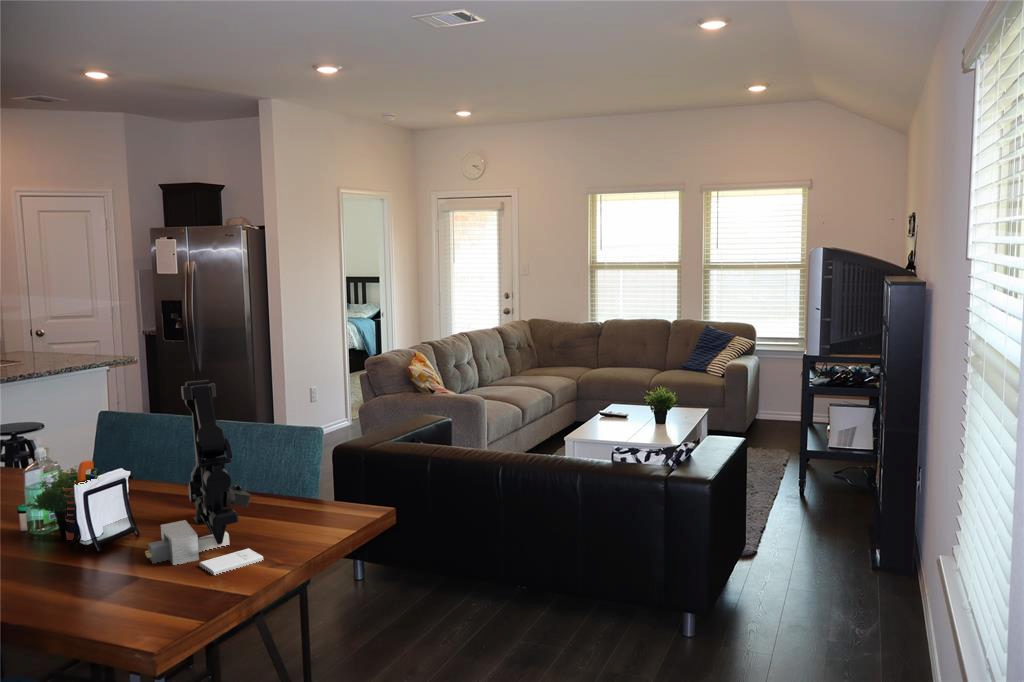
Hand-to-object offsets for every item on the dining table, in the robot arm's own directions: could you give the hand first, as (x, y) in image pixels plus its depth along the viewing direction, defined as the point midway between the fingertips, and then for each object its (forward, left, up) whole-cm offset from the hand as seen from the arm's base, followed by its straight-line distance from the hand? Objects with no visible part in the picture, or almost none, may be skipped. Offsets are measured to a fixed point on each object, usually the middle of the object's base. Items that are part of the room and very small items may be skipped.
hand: (218, 542), depth 207 cm
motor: (-31, -27, -1) cm, 41 cm away
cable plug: (0, -7, -1) cm, 7 cm away
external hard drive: (+14, 0, -2) cm, 14 cm away
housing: (0, -9, -1) cm, 9 cm away
